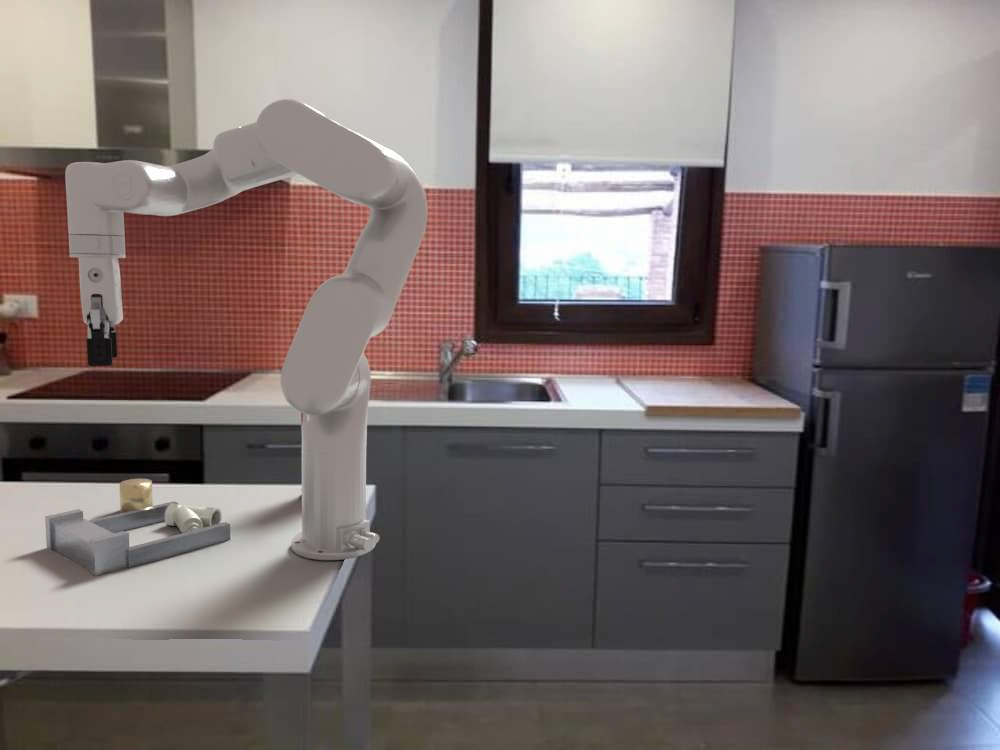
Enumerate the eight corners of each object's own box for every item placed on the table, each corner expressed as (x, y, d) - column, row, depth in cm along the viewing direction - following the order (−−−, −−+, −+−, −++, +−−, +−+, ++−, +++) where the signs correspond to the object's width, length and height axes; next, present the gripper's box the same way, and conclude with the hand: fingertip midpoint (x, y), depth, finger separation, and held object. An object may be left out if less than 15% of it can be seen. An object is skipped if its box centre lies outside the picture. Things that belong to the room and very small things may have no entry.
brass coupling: (158, 511, 139) (157, 482, 138) (129, 517, 135) (128, 488, 134) (143, 504, 142) (142, 477, 141) (115, 511, 138) (113, 482, 137)
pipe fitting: (198, 543, 126) (222, 526, 132) (197, 519, 125) (220, 504, 131) (152, 538, 127) (177, 521, 134) (150, 514, 127) (176, 499, 133)
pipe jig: (230, 539, 126) (229, 509, 125) (97, 576, 110) (95, 542, 110) (174, 515, 136) (173, 488, 136) (45, 546, 121) (43, 515, 120)
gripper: (121, 248, 115) (126, 368, 118) (128, 248, 131) (133, 354, 134) (61, 247, 112) (68, 370, 115) (76, 247, 128) (82, 355, 131)
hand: (103, 361), depth 124 cm, fingers open, 9 cm apart
